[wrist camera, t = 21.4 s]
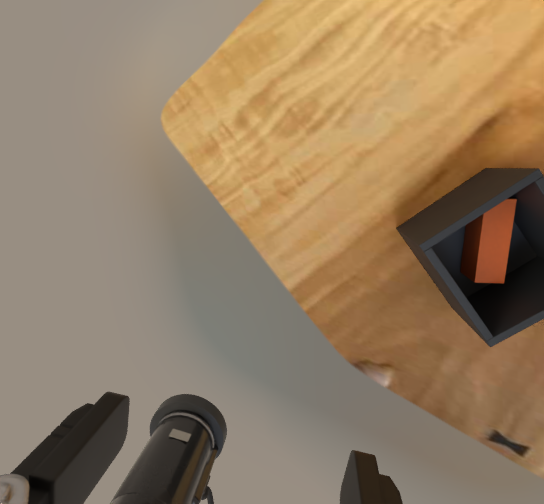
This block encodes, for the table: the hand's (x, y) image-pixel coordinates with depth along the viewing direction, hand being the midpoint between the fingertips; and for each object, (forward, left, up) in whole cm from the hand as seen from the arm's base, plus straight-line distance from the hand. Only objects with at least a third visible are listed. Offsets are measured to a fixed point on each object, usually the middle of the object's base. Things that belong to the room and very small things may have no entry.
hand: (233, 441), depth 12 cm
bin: (-12, -17, -33) cm, 39 cm away
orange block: (-15, -15, -30) cm, 37 cm away
